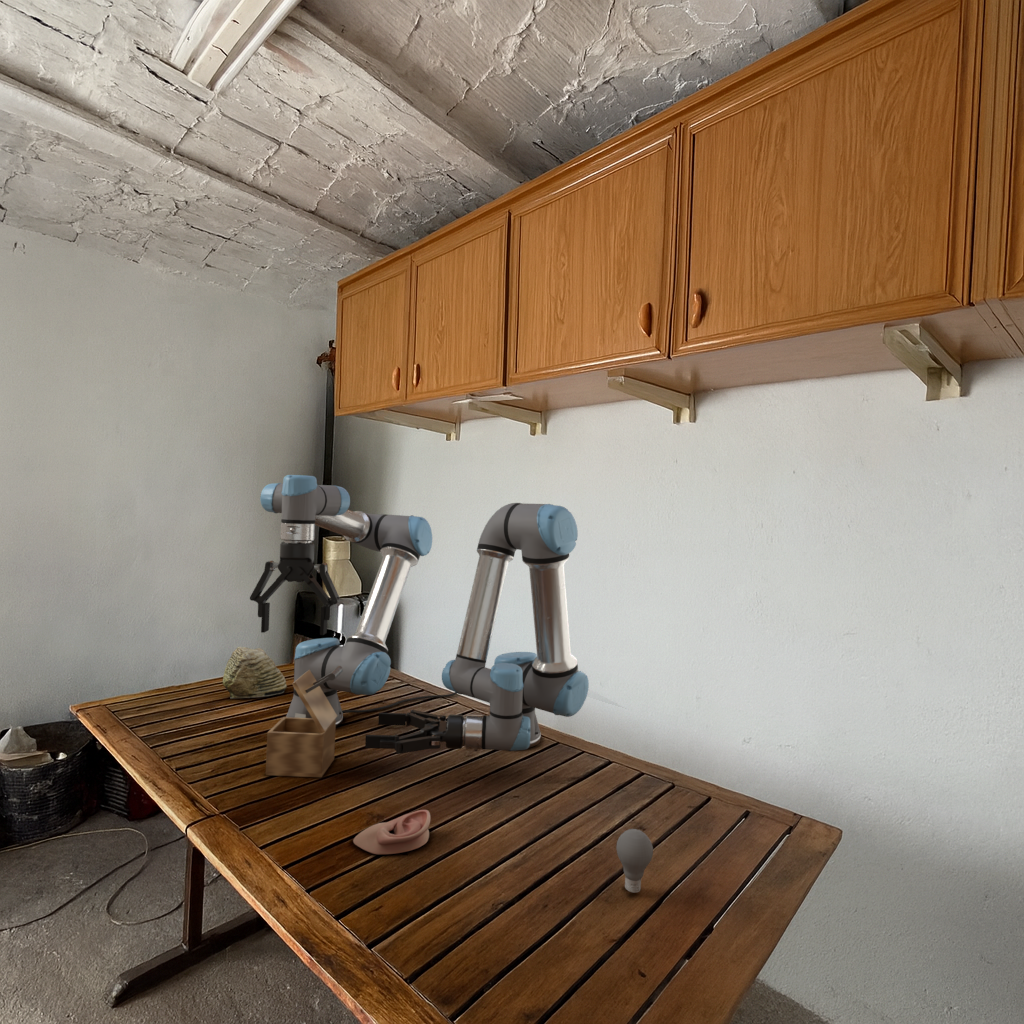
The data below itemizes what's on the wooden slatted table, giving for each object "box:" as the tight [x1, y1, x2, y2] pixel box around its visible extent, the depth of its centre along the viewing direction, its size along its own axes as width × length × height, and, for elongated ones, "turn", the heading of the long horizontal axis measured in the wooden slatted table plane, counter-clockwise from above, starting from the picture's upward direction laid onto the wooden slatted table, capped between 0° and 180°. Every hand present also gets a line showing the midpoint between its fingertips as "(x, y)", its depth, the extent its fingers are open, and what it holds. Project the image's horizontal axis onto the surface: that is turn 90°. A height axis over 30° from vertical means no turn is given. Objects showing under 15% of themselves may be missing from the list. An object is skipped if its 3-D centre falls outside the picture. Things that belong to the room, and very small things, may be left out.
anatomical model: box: [352, 809, 431, 856], centre depth 118 cm, size 13×4×12 cm
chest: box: [265, 716, 336, 778], centre depth 148 cm, size 13×10×10 cm
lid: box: [291, 666, 343, 733], centre depth 148 cm, size 13×10×9 cm
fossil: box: [222, 646, 288, 699], centre depth 198 cm, size 9×18×15 cm, turn 132°
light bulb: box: [615, 828, 654, 894], centre depth 106 cm, size 6×6×10 cm
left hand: (294, 632), depth 147 cm, fingers open, 13 cm apart
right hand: (372, 729), depth 147 cm, fingers open, 13 cm apart
